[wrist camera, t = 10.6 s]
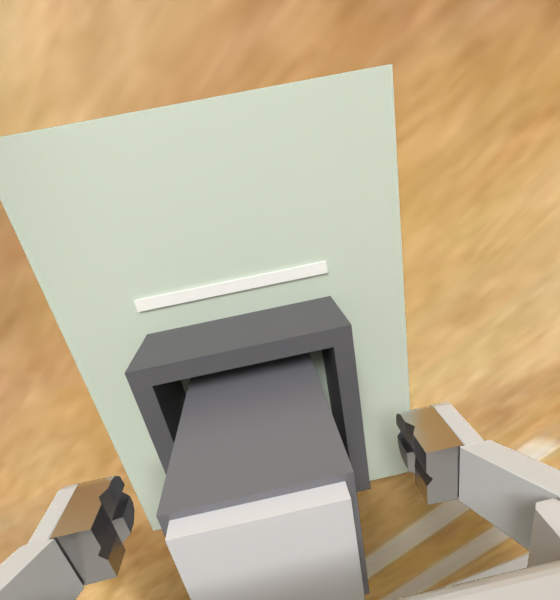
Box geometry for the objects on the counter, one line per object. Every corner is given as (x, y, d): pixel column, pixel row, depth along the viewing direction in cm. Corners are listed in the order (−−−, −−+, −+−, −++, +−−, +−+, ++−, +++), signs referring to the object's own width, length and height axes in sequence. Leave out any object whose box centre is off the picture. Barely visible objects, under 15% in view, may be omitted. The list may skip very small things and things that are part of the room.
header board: (-3, 144, 10) (-114, 131, 7) (379, 73, 11) (438, 30, 8) (158, 510, 16) (137, 595, 13) (403, 454, 17) (443, 522, 13)
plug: (194, 360, 12) (151, 535, 6) (303, 337, 12) (360, 488, 7) (220, 445, 14) (204, 653, 8) (317, 424, 14) (375, 613, 8)
